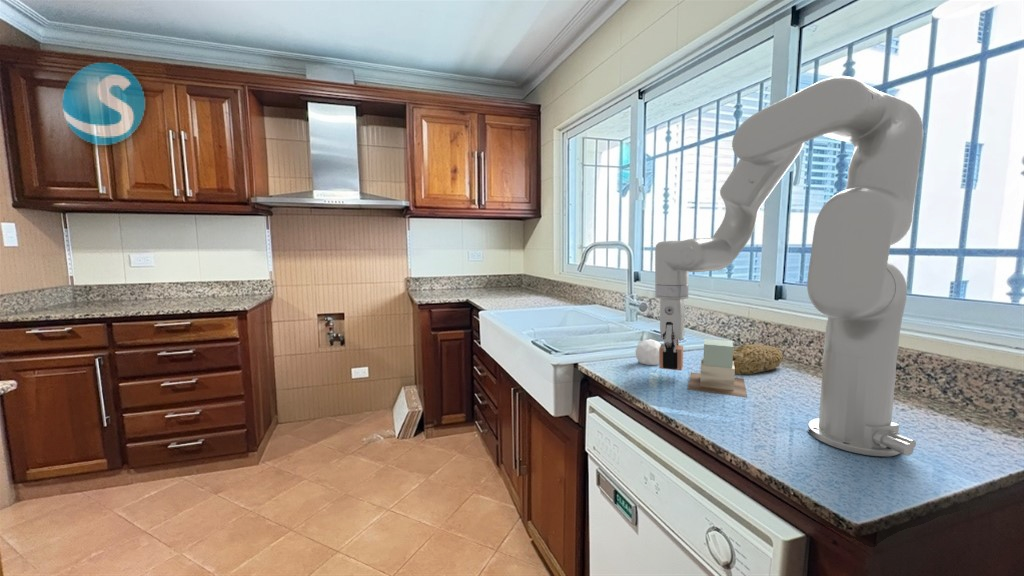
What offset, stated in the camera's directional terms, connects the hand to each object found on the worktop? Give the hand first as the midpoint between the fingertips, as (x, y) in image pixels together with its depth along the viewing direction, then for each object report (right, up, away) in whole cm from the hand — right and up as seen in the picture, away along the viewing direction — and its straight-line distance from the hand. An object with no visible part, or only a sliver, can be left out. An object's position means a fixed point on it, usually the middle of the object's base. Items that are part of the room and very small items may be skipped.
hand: (671, 364), depth 100 cm
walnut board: (+10, -5, -3) cm, 11 cm away
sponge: (+27, -4, +11) cm, 29 cm away
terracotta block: (0, -1, 0) cm, 1 cm away
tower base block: (+10, -4, -3) cm, 11 cm away
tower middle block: (+10, +1, -4) cm, 10 cm away
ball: (0, -4, +15) cm, 16 cm away
